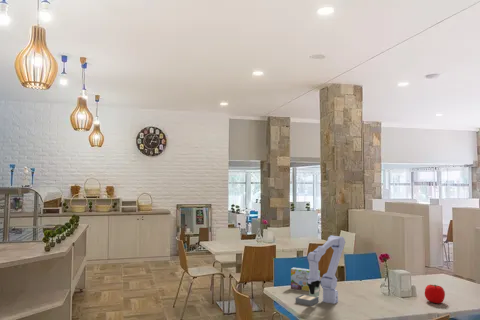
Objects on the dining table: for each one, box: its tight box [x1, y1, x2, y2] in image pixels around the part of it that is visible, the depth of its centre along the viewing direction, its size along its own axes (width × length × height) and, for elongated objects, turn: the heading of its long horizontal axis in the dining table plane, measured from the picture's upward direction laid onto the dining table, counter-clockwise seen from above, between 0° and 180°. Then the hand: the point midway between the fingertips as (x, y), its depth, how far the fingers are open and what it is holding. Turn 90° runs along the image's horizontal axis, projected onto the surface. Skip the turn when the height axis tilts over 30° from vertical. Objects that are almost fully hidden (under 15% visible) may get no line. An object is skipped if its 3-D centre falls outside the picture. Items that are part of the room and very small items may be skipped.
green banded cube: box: [308, 287, 320, 297], centre depth 256 cm, size 5×5×5 cm
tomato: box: [424, 284, 446, 304], centre depth 267 cm, size 12×13×12 cm
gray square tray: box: [295, 293, 320, 307], centre depth 262 cm, size 11×11×4 cm
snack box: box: [290, 267, 321, 292], centre depth 297 cm, size 21×6×15 cm, turn 62°
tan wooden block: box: [299, 294, 316, 300], centre depth 262 cm, size 8×8×3 cm
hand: (314, 293), depth 256 cm, fingers closed on green banded cube, 5 cm apart
